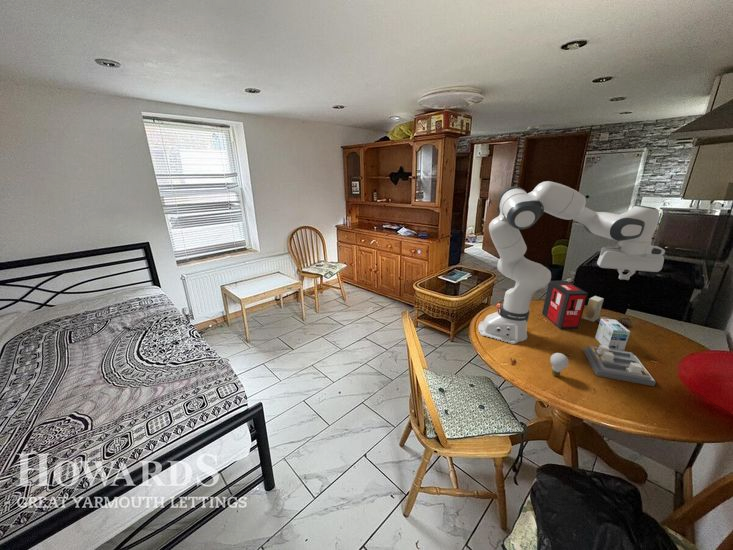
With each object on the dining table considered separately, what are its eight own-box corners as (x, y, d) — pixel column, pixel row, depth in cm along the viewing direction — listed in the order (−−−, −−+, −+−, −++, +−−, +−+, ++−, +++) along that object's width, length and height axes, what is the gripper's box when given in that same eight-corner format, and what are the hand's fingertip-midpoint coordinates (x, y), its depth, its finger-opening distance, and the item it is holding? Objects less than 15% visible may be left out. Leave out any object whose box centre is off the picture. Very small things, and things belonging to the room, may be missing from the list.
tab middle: (602, 362, 118) (604, 354, 116) (599, 357, 120) (601, 350, 119) (613, 364, 116) (616, 356, 115) (611, 359, 119) (613, 352, 117)
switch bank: (596, 375, 113) (598, 368, 112) (583, 350, 128) (585, 344, 127) (654, 386, 107) (657, 378, 106) (633, 359, 122) (636, 352, 121)
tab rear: (597, 355, 122) (600, 347, 121) (595, 350, 124) (597, 344, 123) (609, 356, 120) (611, 349, 119) (606, 352, 123) (609, 345, 122)
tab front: (628, 373, 111) (631, 366, 109) (625, 368, 113) (628, 361, 112) (641, 376, 109) (645, 368, 108) (638, 371, 112) (641, 363, 111)
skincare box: (589, 315, 157) (594, 295, 152) (598, 318, 153) (604, 298, 149) (583, 318, 154) (588, 298, 149) (592, 322, 150) (598, 301, 146)
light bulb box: (624, 352, 126) (631, 331, 122) (606, 351, 128) (613, 330, 124) (610, 338, 136) (616, 319, 132) (594, 337, 137) (600, 318, 134)
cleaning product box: (541, 313, 160) (549, 280, 153) (557, 313, 160) (565, 280, 153) (560, 329, 145) (569, 293, 137) (578, 329, 145) (588, 293, 137)
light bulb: (543, 370, 117) (548, 349, 113) (558, 370, 117) (563, 349, 113) (552, 380, 112) (557, 359, 108) (567, 380, 111) (573, 359, 108)
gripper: (605, 247, 115) (596, 279, 120) (670, 251, 108) (658, 284, 113) (599, 243, 121) (591, 274, 125) (661, 246, 114) (650, 279, 119)
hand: (623, 279), depth 119 cm, fingers closed
